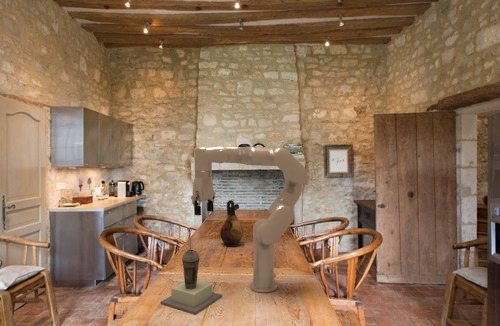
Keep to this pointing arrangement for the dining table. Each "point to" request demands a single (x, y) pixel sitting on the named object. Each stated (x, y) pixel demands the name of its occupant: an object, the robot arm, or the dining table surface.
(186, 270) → the beverage cup
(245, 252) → the dining table surface
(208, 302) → the plinth
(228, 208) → the ceramic jug
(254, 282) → the robot arm
